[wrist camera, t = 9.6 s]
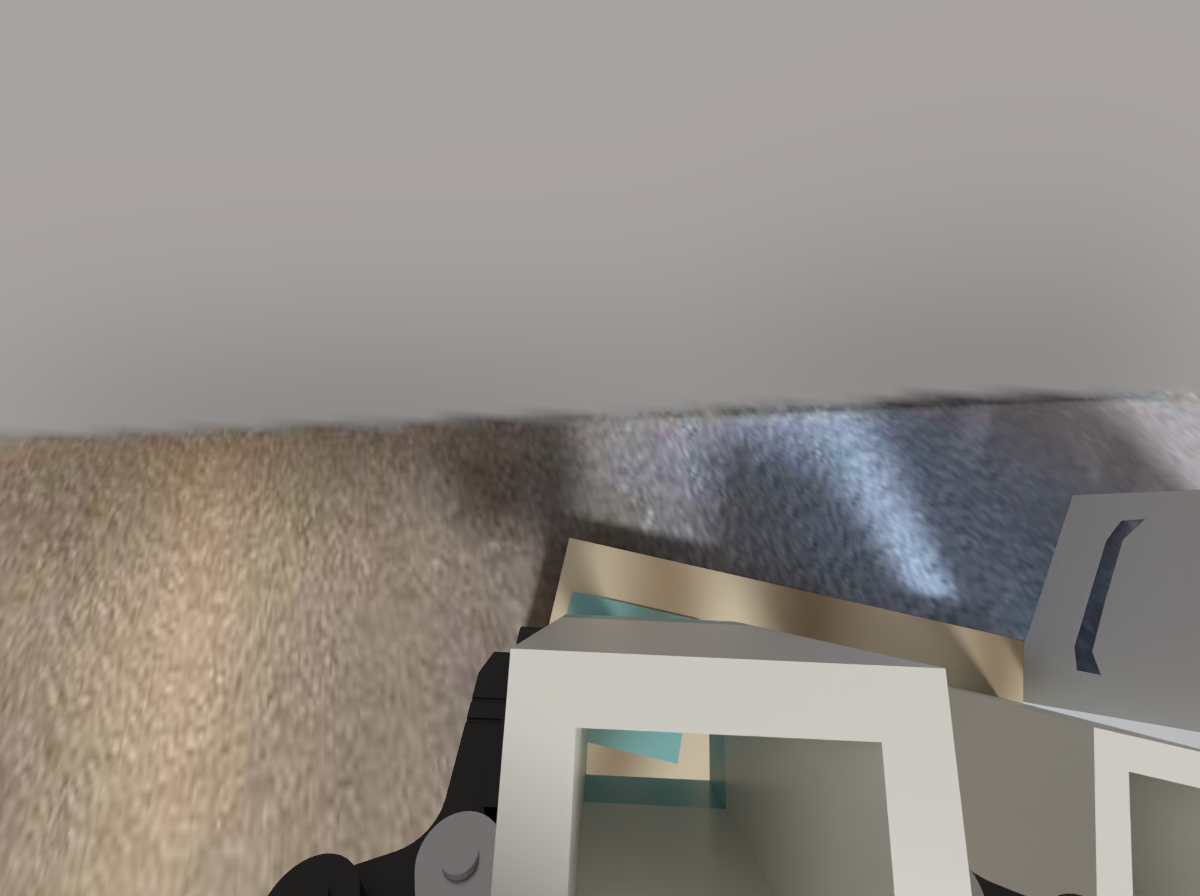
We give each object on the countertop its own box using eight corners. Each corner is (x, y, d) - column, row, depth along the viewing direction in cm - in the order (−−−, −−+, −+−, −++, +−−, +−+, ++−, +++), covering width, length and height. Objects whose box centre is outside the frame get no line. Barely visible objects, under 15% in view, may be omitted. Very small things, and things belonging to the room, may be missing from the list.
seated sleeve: (868, 801, 21) (1098, 975, 12) (879, 669, 23) (1093, 727, 13) (995, 832, 21) (1337, 1034, 11) (998, 697, 22) (1308, 776, 13)
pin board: (516, 773, 23) (488, 839, 17) (570, 540, 25) (563, 524, 19) (991, 891, 22) (1146, 1006, 16) (998, 637, 24) (1133, 652, 18)
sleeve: (555, 806, 15) (463, 1227, 5) (566, 613, 16) (510, 648, 6) (739, 814, 14) (1013, 1260, 5) (735, 621, 16) (945, 668, 6)
